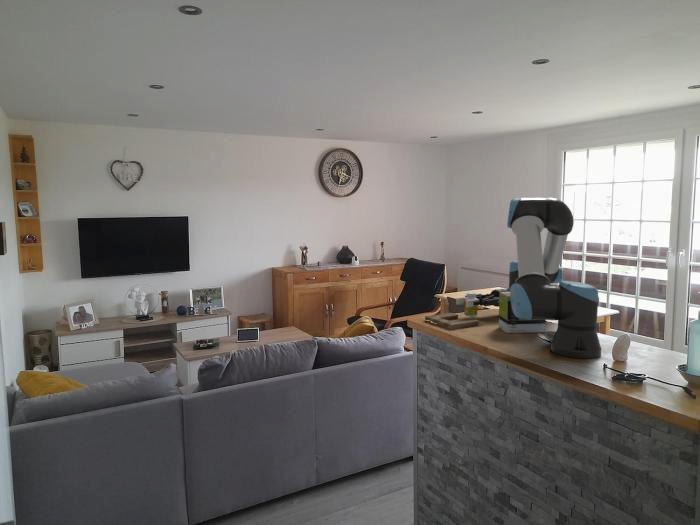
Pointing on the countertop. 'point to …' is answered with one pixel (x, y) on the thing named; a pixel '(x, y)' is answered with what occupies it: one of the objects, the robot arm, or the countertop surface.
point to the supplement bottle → (470, 310)
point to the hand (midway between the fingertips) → (461, 302)
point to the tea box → (513, 323)
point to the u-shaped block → (452, 321)
